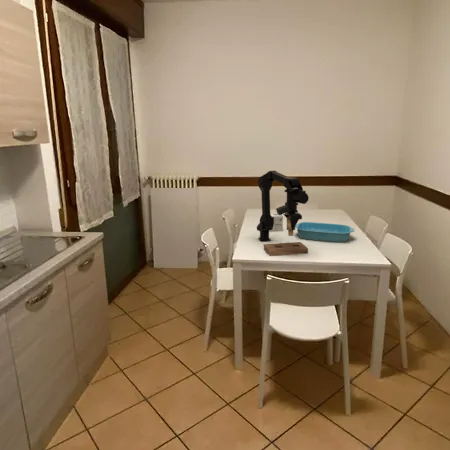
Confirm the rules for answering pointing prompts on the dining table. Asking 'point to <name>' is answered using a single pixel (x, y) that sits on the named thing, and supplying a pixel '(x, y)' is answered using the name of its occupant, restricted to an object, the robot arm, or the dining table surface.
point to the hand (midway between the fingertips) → (291, 228)
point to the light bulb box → (277, 222)
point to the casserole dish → (324, 231)
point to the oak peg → (289, 228)
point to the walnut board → (285, 249)
